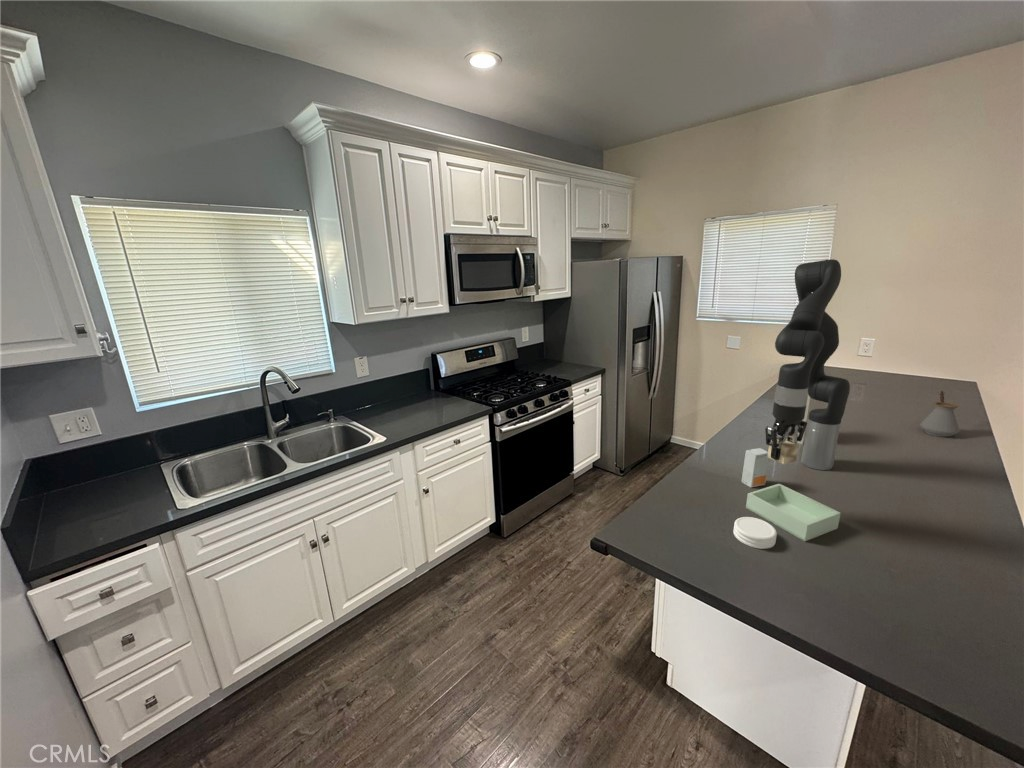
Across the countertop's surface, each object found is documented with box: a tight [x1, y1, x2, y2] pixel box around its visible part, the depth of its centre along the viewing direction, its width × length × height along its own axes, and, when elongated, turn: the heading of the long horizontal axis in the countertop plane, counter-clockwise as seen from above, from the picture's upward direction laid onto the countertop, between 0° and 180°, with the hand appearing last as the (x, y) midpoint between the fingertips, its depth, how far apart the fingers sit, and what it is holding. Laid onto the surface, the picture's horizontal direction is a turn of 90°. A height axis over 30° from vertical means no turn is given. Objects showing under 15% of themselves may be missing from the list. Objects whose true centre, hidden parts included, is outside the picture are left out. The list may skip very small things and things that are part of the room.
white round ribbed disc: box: [732, 516, 778, 550], centre depth 110 cm, size 10×10×4 cm
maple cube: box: [767, 439, 799, 465], centre depth 117 cm, size 5×5×5 cm
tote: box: [745, 483, 842, 542], centre depth 117 cm, size 14×18×5 cm
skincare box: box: [741, 447, 770, 488], centre depth 135 cm, size 6×4×12 cm
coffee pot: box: [919, 390, 961, 438], centre depth 172 cm, size 21×12×15 cm, turn 140°
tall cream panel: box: [790, 395, 818, 445], centre depth 168 cm, size 8×12×26 cm
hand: (781, 456), depth 117 cm, fingers closed on maple cube, 5 cm apart
